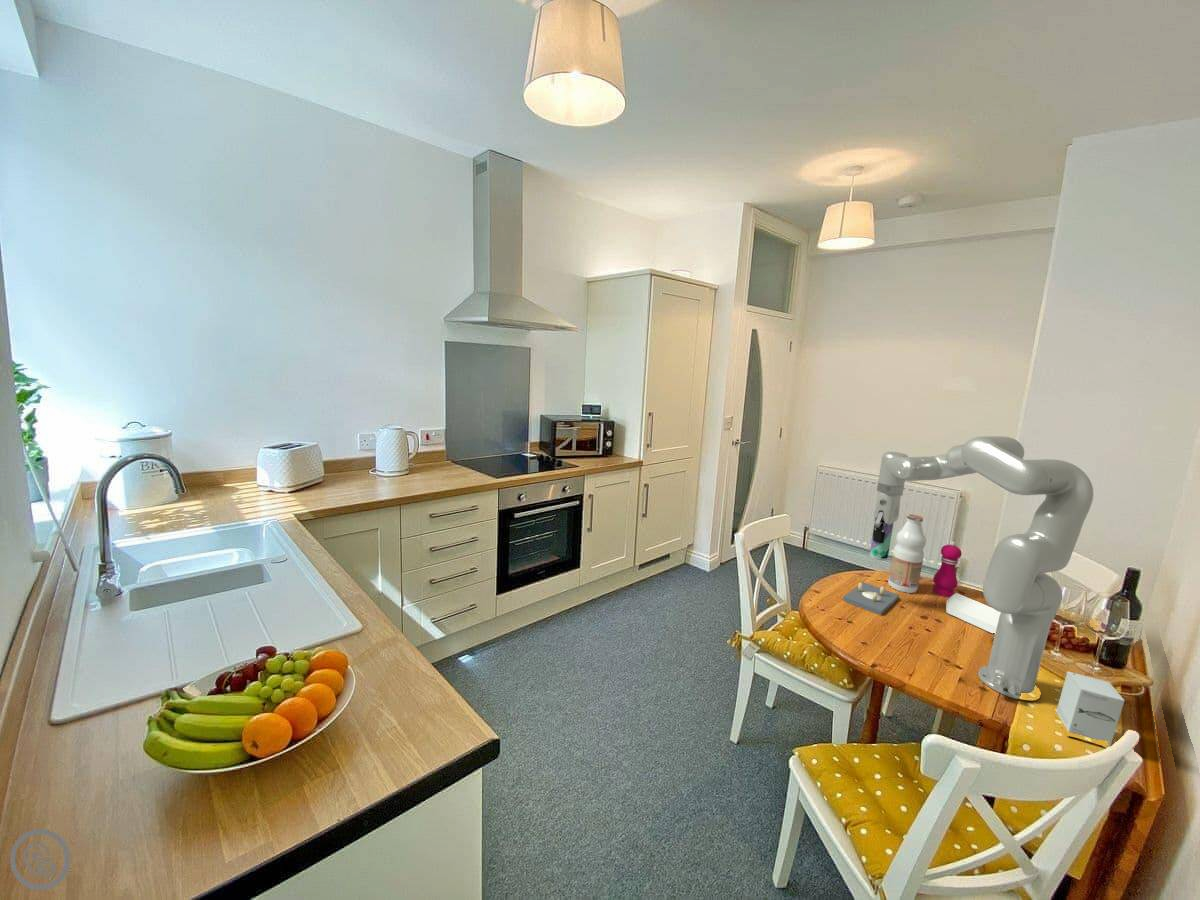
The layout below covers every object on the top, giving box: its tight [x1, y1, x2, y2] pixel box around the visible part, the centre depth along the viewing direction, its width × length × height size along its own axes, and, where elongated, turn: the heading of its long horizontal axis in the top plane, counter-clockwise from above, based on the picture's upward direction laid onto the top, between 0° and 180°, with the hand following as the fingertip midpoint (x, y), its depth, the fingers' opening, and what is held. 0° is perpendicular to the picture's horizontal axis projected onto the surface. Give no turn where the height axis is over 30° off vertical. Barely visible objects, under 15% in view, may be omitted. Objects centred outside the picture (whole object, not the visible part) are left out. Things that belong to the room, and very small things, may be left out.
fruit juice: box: [887, 513, 927, 594], centre depth 173 cm, size 9×9×28 cm
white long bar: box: [945, 592, 1001, 634], centre depth 151 cm, size 7×7×24 cm
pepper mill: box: [932, 541, 962, 598], centre depth 172 cm, size 7×7×20 cm
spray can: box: [868, 518, 895, 562], centre depth 161 cm, size 6×6×20 cm
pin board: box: [842, 581, 900, 616], centre depth 165 cm, size 18×12×4 cm, turn 132°
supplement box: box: [1055, 670, 1125, 749], centre depth 107 cm, size 7×7×13 cm
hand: (881, 539), depth 161 cm, fingers closed on spray can, 5 cm apart
